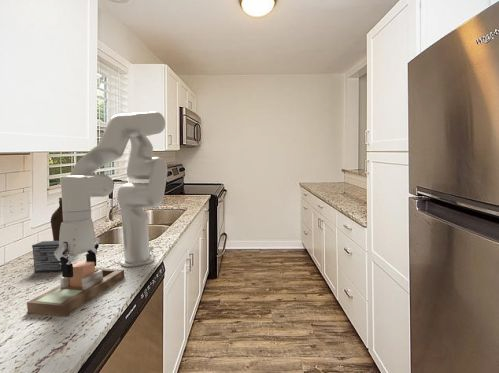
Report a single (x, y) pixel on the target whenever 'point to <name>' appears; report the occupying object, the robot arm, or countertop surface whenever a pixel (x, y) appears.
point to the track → (74, 293)
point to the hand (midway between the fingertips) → (80, 271)
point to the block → (81, 272)
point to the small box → (46, 257)
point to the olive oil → (57, 221)
